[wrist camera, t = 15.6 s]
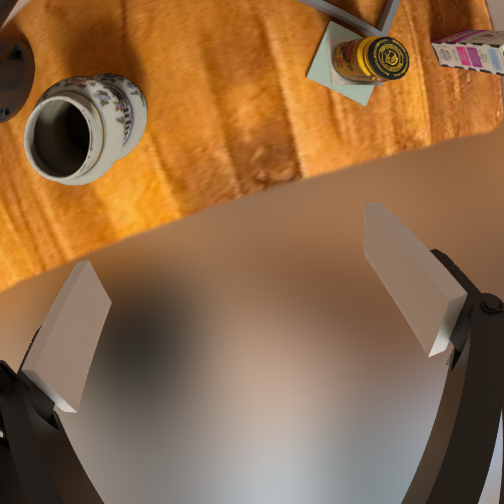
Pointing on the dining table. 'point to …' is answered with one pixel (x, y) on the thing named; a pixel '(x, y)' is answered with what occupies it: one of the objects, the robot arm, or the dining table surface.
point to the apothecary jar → (84, 127)
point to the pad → (321, 66)
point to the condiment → (366, 60)
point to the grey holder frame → (381, 30)
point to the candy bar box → (472, 51)
